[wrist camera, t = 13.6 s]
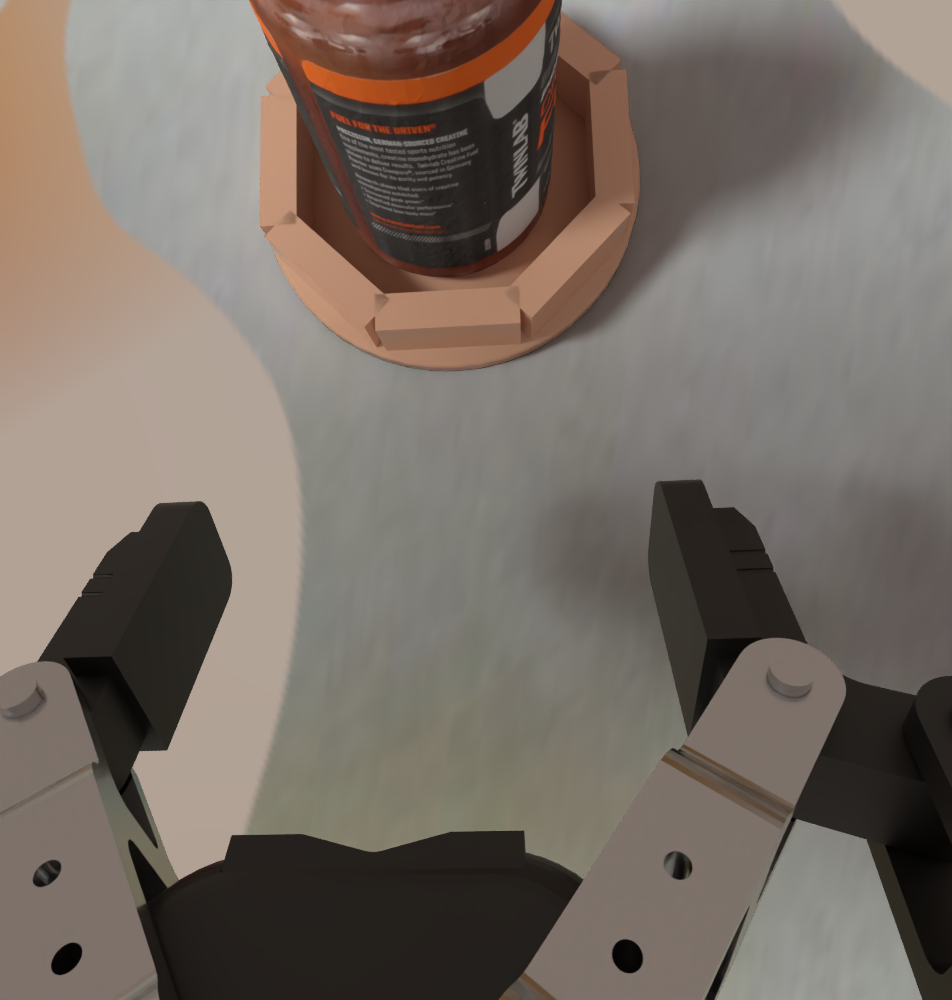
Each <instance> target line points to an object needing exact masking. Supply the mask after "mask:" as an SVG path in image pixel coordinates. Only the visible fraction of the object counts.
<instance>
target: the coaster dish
mask: <svg viewBox="0 0 952 1000" xmlns="http://www.w3.org/2000/svg"><path fill="white" fill-rule="evenodd" d="M560 31H561V32H560V42H559V51H558V72H557V86H556V102H555V124H554V134H553V153H552V164H551V176H550V183H549V187H548V193H547V197H546V202H545V205H544V207H543V211H542V214H541V216H540V217H539V219H538V222H537V223H536V225H535V227H534V228H533V229H532V231H531V232H530V234H529V235H528V237H527V238H526V239H525V240H524V241H523V242H522V243H521V244H520V245H519V246H518V247H517V248H516V249H515V250H514V251H513V252H512V253H510V254H509V255H508V256H506V257H505V258H503V259H502V260H500V261H499V262H498V263H496V264H494V265H492V266H489V267H488V268H486V269H483V270H481V271H479V272H475V273H471V274H467V275H462V276H457V277H431V276H424V275H419V274H414V273H411V272H408V271H405V270H403V269H400V268H397V267H395V266H394V265H392V264H390V263H389V262H387V261H386V260H384V259H383V258H382V257H380V256H379V255H378V254H377V253H376V252H374V251H373V250H372V249H371V248H370V247H369V246H368V245H367V243H366V242H365V241H364V240H363V239H362V237H361V236H360V235H359V233H358V231H357V230H356V228H355V226H354V225H353V223H352V221H351V220H350V218H349V216H348V215H347V213H346V212H345V209H344V207H343V205H342V202H341V200H340V198H339V196H338V194H337V192H336V189H335V187H334V185H333V183H332V181H331V179H330V177H329V174H328V172H327V170H326V167H325V166H324V164H323V162H322V160H321V157H320V155H319V152H318V150H317V148H316V146H315V144H314V141H313V139H312V137H311V135H310V133H309V130H308V128H307V126H306V124H305V122H304V120H303V117H302V115H301V113H300V111H299V109H298V106H297V105H296V102H295V100H294V98H293V96H292V93H291V91H290V89H289V87H288V85H287V82H286V80H285V78H284V76H283V74H282V72H281V71H280V72H279V73H278V74H277V75H276V76H275V77H274V78H273V79H272V80H271V81H270V82H269V83H268V84H267V85H266V86H265V87H266V89H267V91H268V93H269V95H270V96H261V162H260V227H261V228H262V230H263V231H264V232H265V234H266V235H265V238H266V239H267V241H268V242H269V243H270V245H271V246H272V247H273V250H274V253H275V255H276V258H277V261H278V263H279V265H280V267H281V269H282V271H283V272H284V274H285V276H286V278H287V280H288V282H289V283H290V285H291V286H292V287H293V289H294V290H295V292H296V293H297V294H298V296H299V297H300V299H301V300H302V301H303V303H304V304H305V305H306V306H307V308H308V309H309V310H310V311H311V312H312V313H313V314H314V315H315V316H316V317H317V318H318V319H319V320H320V322H321V323H322V324H323V325H325V326H326V327H327V328H328V329H330V330H331V331H332V332H333V333H335V334H336V335H337V336H338V337H340V338H341V339H342V340H344V341H346V342H347V343H349V344H351V345H352V346H354V347H356V348H357V349H359V350H361V351H362V352H365V353H367V354H369V355H372V356H374V357H376V358H379V359H381V360H383V361H387V362H390V363H394V364H398V365H401V366H405V367H410V368H417V369H424V370H431V371H460V370H468V369H477V368H483V367H487V366H491V365H495V364H499V363H503V362H507V361H509V360H512V359H514V358H517V357H520V356H522V355H525V354H527V353H529V352H531V351H533V350H535V349H537V348H539V347H541V346H542V345H544V344H546V343H548V342H550V341H551V340H553V339H554V338H555V337H557V336H558V335H560V334H561V333H562V332H564V331H565V330H567V329H568V328H569V327H571V326H572V325H573V324H574V323H575V322H576V321H577V320H578V319H579V318H580V317H581V316H583V315H584V314H585V313H586V312H587V311H588V310H589V309H590V307H591V306H592V305H593V304H594V303H595V301H596V300H597V299H598V298H599V297H600V295H601V294H602V293H603V292H604V290H605V289H606V287H607V285H608V284H609V282H610V281H611V279H612V277H613V276H614V274H615V273H616V271H617V269H618V267H619V264H620V262H621V260H622V258H623V255H624V253H625V251H626V249H627V245H628V242H629V239H630V235H631V232H632V229H633V225H634V222H635V218H636V214H637V207H638V201H639V194H640V166H639V158H638V151H637V144H636V141H635V137H634V134H633V130H632V127H631V123H630V118H629V102H628V86H627V70H626V69H620V64H621V59H620V58H619V57H618V56H616V55H615V54H614V53H613V52H611V51H610V50H609V49H607V48H606V47H605V46H604V45H602V44H601V43H600V42H599V41H597V40H596V39H595V38H593V37H592V36H591V35H590V34H588V33H587V32H586V31H585V30H583V29H582V28H581V27H580V26H578V25H577V24H576V23H574V22H573V21H572V20H571V19H569V18H568V17H567V16H566V15H564V14H563V13H562V12H561V21H560ZM619 69H620V70H619Z"/></svg>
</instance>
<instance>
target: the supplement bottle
mask: <svg viewBox="0 0 952 1000" xmlns="http://www.w3.org/2000/svg"><path fill="white" fill-rule="evenodd" d="M249 2H250V4H251V6H252V8H253V10H254V12H255V15H256V17H257V19H258V20H259V22H260V25H261V27H262V30H263V32H264V35H265V37H266V40H267V42H268V45H269V47H270V49H271V50H272V52H273V54H274V56H275V58H276V60H277V63H278V65H279V68H280V70H281V72H282V74H283V76H284V78H285V80H286V82H287V85H288V87H289V89H290V91H291V93H292V96H293V98H294V100H295V102H296V105H297V106H298V109H299V111H300V113H301V115H302V117H303V120H304V122H305V124H306V126H307V128H308V130H309V133H310V135H311V137H312V139H313V141H314V144H315V146H316V148H317V150H318V152H319V155H320V157H321V160H322V162H323V164H324V166H325V167H326V170H327V172H328V174H329V177H330V179H331V181H332V183H333V185H334V187H335V189H336V192H337V194H338V196H339V198H340V200H341V202H342V205H343V207H344V209H345V212H346V213H347V215H348V216H349V218H350V220H351V221H352V223H353V225H354V226H355V228H356V230H357V231H358V233H359V235H360V236H361V237H362V239H363V240H364V241H365V242H366V243H367V245H368V246H369V247H370V248H371V249H372V250H373V251H374V252H376V253H377V254H378V255H379V256H380V257H382V258H383V259H384V260H386V261H387V262H389V263H390V264H392V265H394V266H395V267H397V268H400V269H403V270H405V271H408V272H411V273H414V274H419V275H424V276H431V277H457V276H462V275H467V274H471V273H475V272H479V271H481V270H483V269H486V268H488V267H489V266H492V265H494V264H496V263H498V262H499V261H500V260H502V259H503V258H505V257H506V256H508V255H509V254H510V253H512V252H513V251H514V250H515V249H516V248H517V247H518V246H519V245H520V244H521V243H522V242H523V241H524V240H525V239H526V238H527V237H528V235H529V234H530V232H531V231H532V229H533V228H534V227H535V225H536V223H537V222H538V219H539V217H540V216H541V214H542V211H543V207H544V205H545V202H546V197H547V193H548V187H549V183H550V176H551V164H552V153H553V134H554V124H555V102H556V86H557V72H558V51H559V42H560V32H561V31H560V21H561V5H562V0H249Z"/></svg>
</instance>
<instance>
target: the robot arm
mask: <svg viewBox="0 0 952 1000" xmlns="http://www.w3.org/2000/svg"><path fill="white" fill-rule="evenodd" d="M648 561H649V573H650V580H651V585H652V589H653V593H654V597H655V602H656V606H657V610H658V614H659V618H660V622H661V626H662V631H663V635H664V639H665V643H666V647H667V651H668V655H669V660H670V664H671V668H672V672H673V676H674V680H675V684H676V689H677V693H678V697H679V701H680V705H681V709H682V714H683V718H684V722H685V726H686V730H687V734H688V738H687V740H686V741H685V743H684V744H683V745H682V747H681V748H680V749H679V750H676V749H673V748H672V749H670V750H669V751H668V752H667V753H666V754H665V755H664V756H663V758H662V759H661V760H660V762H659V763H658V765H657V766H656V768H655V770H654V771H653V773H652V774H651V776H650V777H649V779H648V780H647V782H646V784H645V785H644V787H643V788H642V790H641V791H640V793H639V794H638V796H637V798H636V799H635V801H634V802H633V804H632V805H631V807H630V808H629V810H628V812H627V813H626V815H625V816H624V818H623V819H622V821H621V822H620V824H619V826H618V827H617V829H616V830H615V832H614V833H613V835H612V836H611V838H610V840H609V841H608V843H607V844H606V846H605V847H604V849H603V850H602V852H601V854H600V855H599V857H598V858H597V860H596V861H595V863H594V864H593V866H592V868H591V869H590V871H589V872H588V874H587V875H586V877H585V878H584V880H583V879H582V878H581V877H579V876H578V875H577V874H575V873H574V872H572V871H570V870H568V869H567V868H565V867H563V866H561V865H560V864H558V863H555V862H553V861H550V860H548V859H545V858H543V857H540V856H536V855H533V854H529V853H526V852H525V837H524V831H476V832H449V833H445V834H441V835H438V836H434V837H431V838H427V839H423V840H420V841H416V842H412V843H409V844H405V845H402V846H398V847H394V848H391V849H387V850H383V851H379V852H367V851H363V850H359V849H355V848H352V847H348V846H344V845H340V844H337V843H333V842H329V841H326V840H322V839H318V838H314V837H311V836H307V835H303V834H285V835H232V836H231V840H230V843H229V847H228V850H227V853H226V856H225V860H222V861H218V862H216V863H213V864H211V865H208V866H206V867H204V868H201V869H199V870H197V871H195V872H193V873H191V874H189V875H187V876H186V877H184V878H182V879H180V880H179V879H178V878H177V876H176V874H175V872H174V870H173V868H172V866H171V863H170V861H169V859H168V856H167V854H166V851H165V848H164V846H163V843H162V840H161V838H160V835H159V832H158V830H157V827H156V824H155V822H154V819H153V816H152V814H151V811H150V808H149V806H148V803H147V800H146V798H145V795H144V793H143V790H142V787H141V785H140V782H139V779H138V777H137V775H136V773H135V771H134V770H133V768H132V767H133V764H134V762H135V760H136V758H137V755H138V753H139V751H157V750H158V751H160V750H167V749H168V747H169V744H170V742H171V739H172V737H173V734H174V731H175V730H176V727H177V724H178V722H179V720H180V717H181V715H182V712H183V710H184V707H185V705H186V703H187V700H188V698H189V695H190V693H191V690H192V688H193V685H194V683H195V681H196V678H197V675H198V673H199V671H200V668H201V666H202V663H203V661H204V658H205V655H206V653H207V651H208V649H209V646H210V644H211V641H212V639H213V636H214V634H215V631H216V629H217V627H218V624H219V622H220V619H221V617H222V614H223V612H224V609H225V607H226V604H227V602H228V599H229V597H230V593H231V588H232V572H231V567H230V563H229V560H228V557H227V555H226V552H225V550H224V547H223V545H222V542H221V539H220V537H219V534H218V532H217V529H216V527H215V524H214V522H213V519H212V516H211V514H210V511H209V509H208V507H207V506H206V505H205V504H204V503H203V502H200V501H197V502H176V503H159V504H157V505H156V506H155V507H154V508H153V510H152V512H151V513H150V515H149V517H148V518H147V520H146V522H145V523H144V525H143V526H142V528H141V530H140V531H139V532H131V533H129V534H128V535H127V536H126V537H125V538H123V539H122V540H121V541H120V542H119V543H118V544H117V545H115V546H114V547H113V548H112V549H111V550H109V551H108V552H107V553H106V555H105V556H104V558H103V559H102V561H101V563H100V564H99V566H98V567H97V569H96V570H95V572H94V574H93V579H90V580H89V582H88V583H87V585H86V586H85V588H84V589H83V591H82V597H78V599H77V600H76V602H75V603H74V605H73V607H72V608H71V610H70V611H69V613H68V614H67V616H66V618H65V619H64V621H63V622H62V624H61V625H60V627H59V628H58V630H57V632H56V633H55V635H54V637H53V638H52V639H51V641H50V643H49V644H48V646H47V647H46V649H45V650H44V652H43V654H42V655H41V657H40V658H39V660H38V661H37V662H35V663H30V664H26V665H24V666H20V667H18V668H15V669H13V670H11V671H9V672H7V673H5V674H4V675H2V676H1V677H0V1000H716V999H717V997H718V995H719V993H720V991H721V988H722V986H723V984H724V982H725V980H726V978H727V975H728V973H729V971H730V969H731V966H732V964H733V962H734V960H735V957H736V955H737V953H738V950H739V948H740V946H741V943H742V941H743V939H744V936H745V934H746V932H747V929H748V927H749V925H750V922H751V920H752V918H753V915H754V913H755V911H756V909H757V907H758V904H759V902H760V900H761V898H762V896H763V893H764V891H765V889H766V887H767V885H768V882H769V880H770V878H771V876H772V874H773V872H774V869H775V867H776V865H777V863H778V861H779V858H780V856H781V854H782V852H783V850H784V848H785V845H786V843H787V841H788V839H789V837H790V834H791V832H792V830H793V828H794V826H795V824H796V821H797V819H799V820H802V821H806V822H809V823H812V824H816V825H819V826H823V827H826V828H830V829H833V830H836V831H840V832H843V833H847V834H850V835H854V836H857V837H860V838H864V839H867V842H868V845H869V847H870V850H871V853H872V856H873V859H874V862H875V865H876V868H877V870H878V873H879V876H880V879H881V882H882V885H883V888H884V891H885V893H886V896H887V899H888V902H889V905H890V908H891V911H892V913H893V916H894V919H895V922H896V925H897V928H898V931H899V934H900V936H901V939H902V942H903V945H904V948H905V951H906V954H907V957H908V959H909V962H910V965H911V968H912V971H913V974H914V977H915V979H916V982H917V985H918V988H919V991H920V994H921V997H922V1000H952V676H944V677H940V678H935V679H933V680H931V681H929V682H927V683H926V684H924V685H923V686H922V687H921V689H920V690H919V691H918V693H917V695H916V696H915V695H911V694H907V693H902V692H898V691H893V690H889V689H885V688H880V687H876V686H872V685H868V684H864V683H860V682H857V681H855V680H852V679H850V678H847V677H845V676H843V675H842V673H841V672H840V670H839V669H838V667H837V666H836V665H835V664H834V663H833V661H832V660H831V659H829V658H828V657H827V656H826V655H825V654H823V653H822V652H820V651H819V650H817V649H816V648H814V647H812V646H810V645H808V644H807V642H806V640H805V638H804V636H803V634H802V631H801V629H800V627H799V624H798V622H797V620H796V618H795V615H794V613H793V611H792V609H791V606H790V604H789V602H788V600H787V597H786V595H785V593H784V591H783V588H782V586H781V584H780V582H779V579H778V577H777V575H776V573H775V572H773V566H772V563H771V561H770V559H769V557H768V554H765V548H764V545H763V543H762V541H761V539H760V536H759V534H758V532H757V530H756V527H755V526H754V525H753V524H752V523H751V522H750V521H748V520H747V519H746V518H745V517H744V516H743V515H742V514H741V513H740V512H738V511H737V510H736V509H735V508H734V507H731V508H713V507H712V504H711V502H710V499H709V496H708V494H707V491H706V489H705V486H704V484H703V482H702V481H701V480H679V481H658V482H656V485H655V489H654V497H653V507H652V518H651V528H650V538H649V550H648Z"/></svg>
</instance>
